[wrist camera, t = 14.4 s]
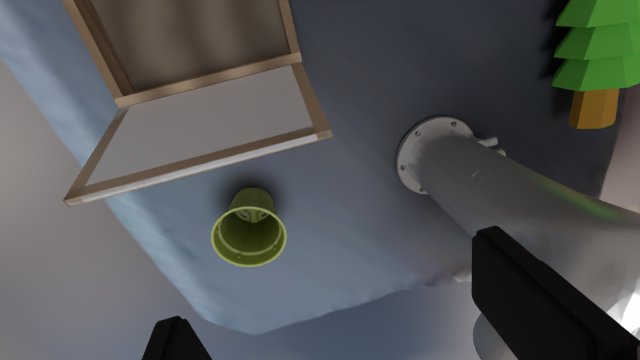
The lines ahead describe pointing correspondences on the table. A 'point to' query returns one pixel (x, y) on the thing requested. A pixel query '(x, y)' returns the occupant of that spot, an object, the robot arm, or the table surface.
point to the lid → (202, 132)
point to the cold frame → (182, 42)
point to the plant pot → (249, 230)
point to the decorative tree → (598, 57)
